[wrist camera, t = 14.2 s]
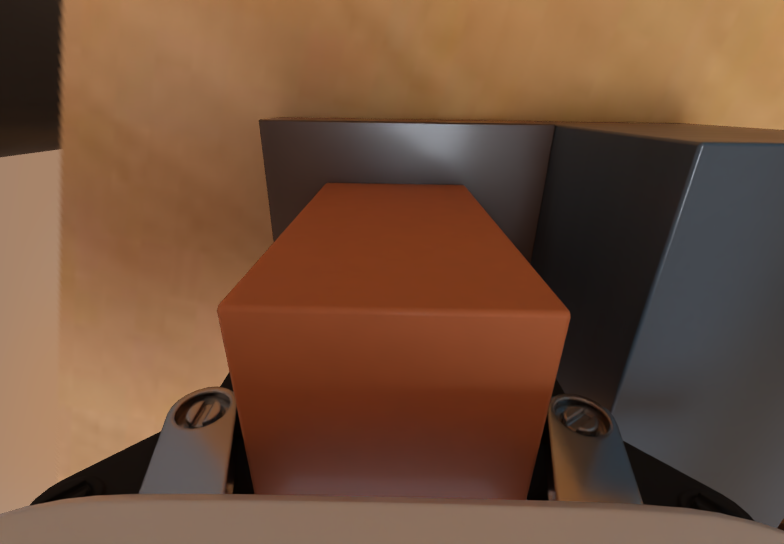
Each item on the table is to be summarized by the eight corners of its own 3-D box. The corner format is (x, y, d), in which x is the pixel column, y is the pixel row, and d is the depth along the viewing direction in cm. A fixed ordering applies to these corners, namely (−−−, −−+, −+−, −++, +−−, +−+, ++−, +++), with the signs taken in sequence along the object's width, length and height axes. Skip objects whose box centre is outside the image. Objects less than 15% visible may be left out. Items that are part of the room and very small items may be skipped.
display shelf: (304, 363, 20) (239, 547, 12) (279, 117, 15) (135, 133, 7) (607, 368, 20) (759, 556, 11) (683, 123, 15) (1043, 146, 7)
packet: (336, 363, 17) (277, 615, 8) (325, 182, 13) (213, 306, 5) (448, 365, 17) (498, 620, 8) (465, 184, 13) (574, 313, 5)
